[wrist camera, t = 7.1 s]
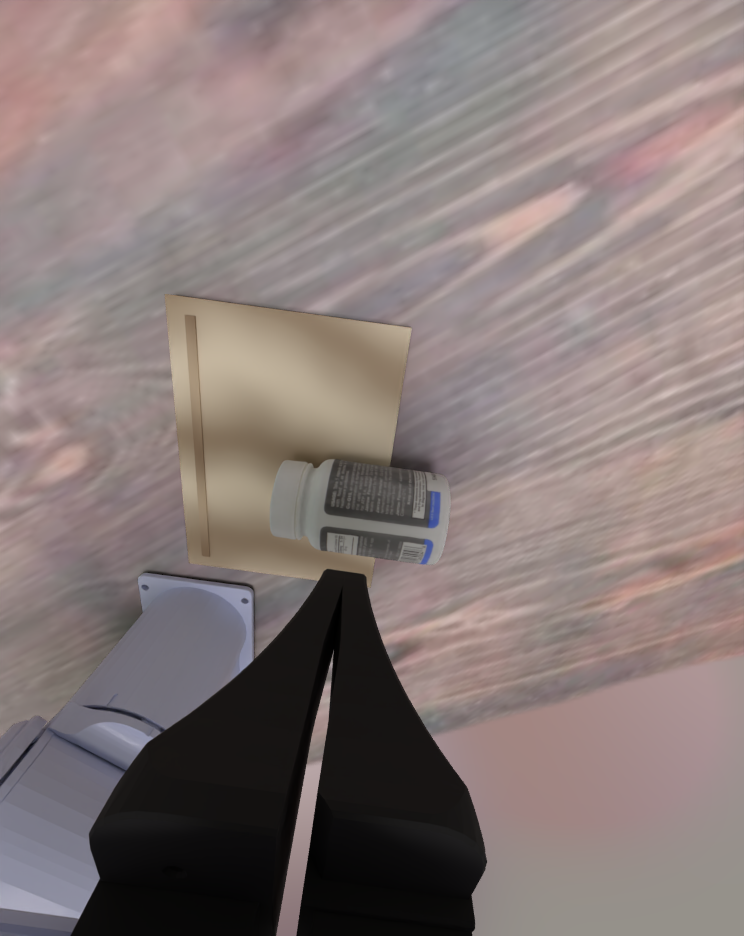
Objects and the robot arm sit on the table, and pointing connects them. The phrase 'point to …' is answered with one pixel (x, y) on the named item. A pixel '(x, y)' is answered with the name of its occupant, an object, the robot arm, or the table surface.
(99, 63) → the table surface
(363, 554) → the pill bottle
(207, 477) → the beech board
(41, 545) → the table surface
